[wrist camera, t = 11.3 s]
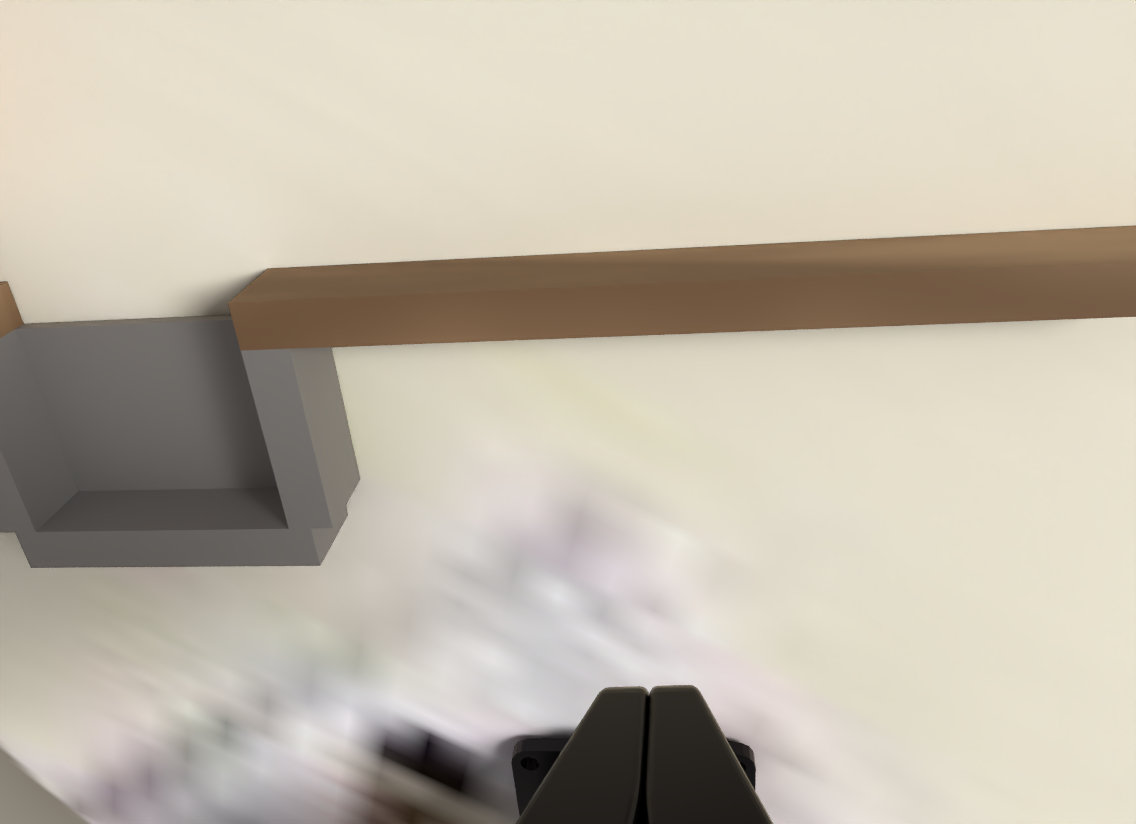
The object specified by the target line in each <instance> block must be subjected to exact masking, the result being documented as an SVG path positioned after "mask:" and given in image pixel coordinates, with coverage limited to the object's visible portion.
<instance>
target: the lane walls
mask: <svg viewBox="0 0 1136 824" xmlns="http://www.w3.org/2000/svg"><path fill="white" fill-rule="evenodd" d="M228 306H229V309H230V313H231V317H232V320H233V324H234V328H235V331H236V335H237V339H238V343H239V346H240V350H241V351H243V350H269V349H295V348H322V347H348V346H374V345H401V344H427V343H454V342H480V341H506V340H533V339H559V338H585V337H612V336H638V335H664V334H691V333H717V332H743V331H770V330H796V329H822V328H849V327H875V326H902V325H928V324H954V323H981V322H1007V321H1033V320H1060V319H1086V318H1112V317H1136V226H1121V227H1101V228H1080V229H1060V230H1040V231H1020V232H999V233H979V234H959V235H939V236H918V237H898V238H878V239H858V240H837V241H817V242H797V243H777V244H756V245H736V246H716V247H696V248H675V249H655V250H635V251H615V252H594V253H574V254H554V255H533V256H513V257H493V258H473V259H452V260H432V261H412V262H392V263H371V264H351V265H331V266H311V267H290V268H270V269H267V270H266V271H265V272H263V273H262V274H261V275H260V276H259V277H258V278H256V279H255V280H254V281H253V282H252V283H250V284H249V285H248V286H247V287H246V288H245V289H243V290H242V291H241V292H240V293H239V294H238V295H236V296H235V297H234V298H233V299H232V300H231V301H229V302H228ZM21 325H23V321H22V318H21V316H20V313H19V311H18V308H17V305H16V303H15V300H14V298H13V295H12V292H11V290H10V287H9V285H8V282H0V338H1V337H3V336H5V335H6V334H8V333H10V332H11V331H13V330H14V329H16V328H18V327H19V326H21Z"/></svg>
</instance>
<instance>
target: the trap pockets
mask: <svg viewBox="0 0 1136 824" xmlns="http://www.w3.org/2000/svg"><path fill="white" fill-rule="evenodd" d="M359 480H360V476H359V472H358V467H357V463H356V458H355V453H354V449H353V444H352V440H351V435H350V431H349V426H348V422H347V417H346V413H345V408H344V403H343V399H342V394H341V390H340V385H339V381H338V376H337V372H336V367H335V362H334V358H333V353H332V349H331V347H322V348H295V349H269V350H243V351H241V350H240V346H239V343H238V339H237V335H236V331H235V328H234V324H233V320H232V317H231V315H218V316H195V317H172V318H148V319H125V320H102V321H79V322H55V323H32V324H23V325H21V326H19V327H18V328H16V329H14V330H13V331H11V332H10V333H8V334H6V335H5V336H3V337H1V338H0V532H16V535H17V537H18V539H19V542H20V544H21V546H22V548H23V551H24V553H25V555H26V558H27V560H28V562H29V564H30V567H31V568H62V567H197V566H320V565H321V563H322V561H323V560H324V558H325V556H326V554H327V552H328V550H329V549H330V547H331V545H332V543H333V541H334V539H335V538H336V536H337V534H338V532H339V530H340V528H341V527H342V525H343V523H344V521H345V519H346V517H347V516H348V513H347V509H346V504H347V502H348V500H349V498H350V497H351V495H352V493H353V491H354V489H355V488H356V486H357V484H358V482H359Z"/></svg>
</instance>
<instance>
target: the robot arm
mask: <svg viewBox="0 0 1136 824" xmlns="http://www.w3.org/2000/svg"><path fill="white" fill-rule="evenodd" d="M528 757H531V758H534V759H531V758H528ZM512 769H513V775H514V782H515V788H516V795H517V801H518V807H519V814H520V818H519V819H518V821H517V822H516V824H773V822H772V821H771V819H770V817H769V815H768V813H767V812H766V810H765V808H764V806H763V804H762V803H761V801H760V799H759V797H758V795H757V794H756V792H755V773H756V767H755V758H754V753H753V750H752V749H751V748H750V747H749V746H747V745H745V744H743V743H737V742H728V741H727V739H726V738H725V736H724V734H723V732H722V730H721V729H720V727H719V725H718V723H717V721H716V720H715V718H714V716H713V714H712V712H711V710H710V709H709V707H708V705H707V703H706V701H705V700H704V698H703V696H702V694H701V693H700V691H699V690H698V689H697V688H696V687H695V686H693V685H672V686H655V687H654V688H652V690H651V691H650V694H649V692H648V691H647V689H645V688H644V687H640V686H638V687H608V688H605V689H603V690H602V691H601V692H600V693H599V694H598V695H597V697H596V698H595V700H594V701H593V703H592V705H591V706H590V708H589V709H588V711H587V712H586V714H585V716H584V717H583V719H582V720H581V722H580V723H579V725H578V727H577V728H576V730H575V731H574V733H573V734H572V736H571V738H570V739H569V740H564V739H526V740H522V741H520V742H518V743H517V744H516V745H515V747H514V752H513V757H512Z"/></svg>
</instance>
